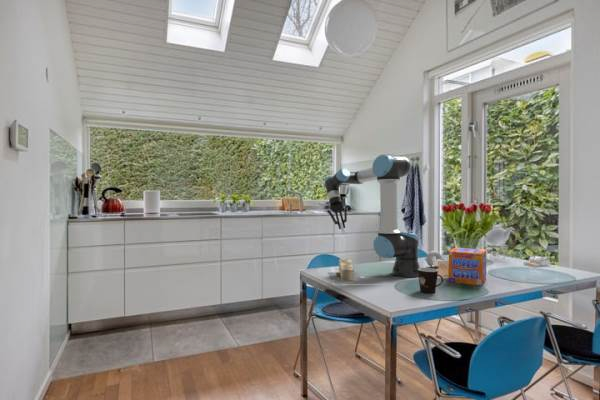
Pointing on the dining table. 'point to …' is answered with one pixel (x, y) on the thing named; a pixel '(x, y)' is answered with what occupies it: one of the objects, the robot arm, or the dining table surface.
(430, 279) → the coffee mug
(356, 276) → the mat
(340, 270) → the birch block
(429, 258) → the donut
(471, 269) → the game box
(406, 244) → the robot arm
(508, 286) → the dining table surface
